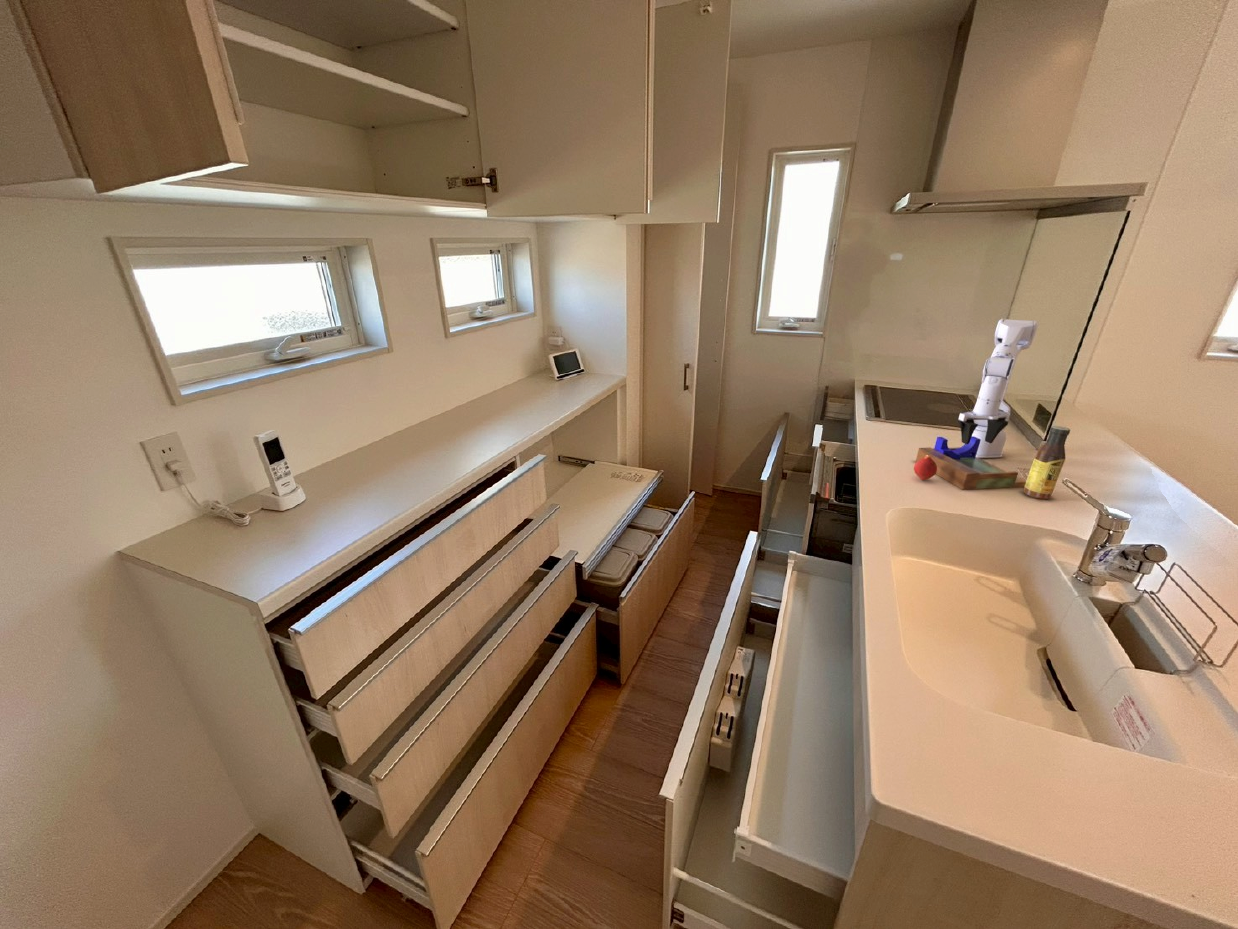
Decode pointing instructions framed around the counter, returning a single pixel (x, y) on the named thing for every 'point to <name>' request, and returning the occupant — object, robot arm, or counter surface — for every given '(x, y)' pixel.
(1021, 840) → the counter surface
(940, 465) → the wooden serving tray
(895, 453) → the counter surface
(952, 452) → the cable clip
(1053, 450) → the sauce bottle
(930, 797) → the counter surface
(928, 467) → the onion
